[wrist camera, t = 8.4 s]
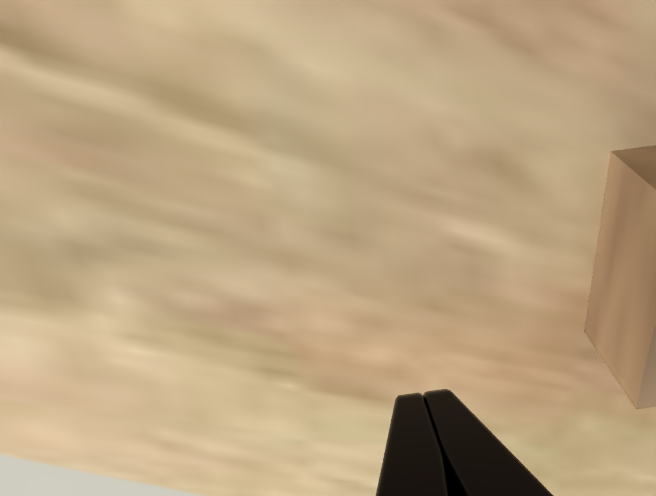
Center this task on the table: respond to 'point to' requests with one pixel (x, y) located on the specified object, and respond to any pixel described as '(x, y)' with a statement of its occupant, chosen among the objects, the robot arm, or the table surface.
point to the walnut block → (627, 276)
